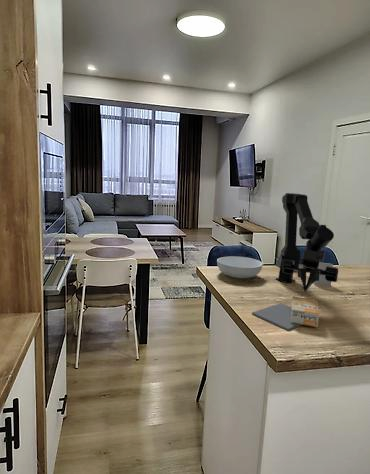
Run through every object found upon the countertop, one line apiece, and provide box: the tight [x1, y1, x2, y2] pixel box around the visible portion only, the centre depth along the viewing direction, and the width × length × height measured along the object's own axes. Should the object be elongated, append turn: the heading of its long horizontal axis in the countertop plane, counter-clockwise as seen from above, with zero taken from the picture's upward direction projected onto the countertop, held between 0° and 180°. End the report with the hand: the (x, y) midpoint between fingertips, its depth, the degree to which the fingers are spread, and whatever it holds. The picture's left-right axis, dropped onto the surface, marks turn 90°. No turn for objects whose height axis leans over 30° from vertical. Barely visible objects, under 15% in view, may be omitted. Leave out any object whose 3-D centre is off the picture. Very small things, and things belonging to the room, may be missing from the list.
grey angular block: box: [313, 261, 334, 288], centre depth 147 cm, size 4×7×10 cm, turn 76°
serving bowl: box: [216, 256, 264, 279], centre depth 154 cm, size 21×21×7 cm
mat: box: [251, 303, 302, 331], centre depth 110 cm, size 16×14×1 cm
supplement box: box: [290, 295, 320, 328], centre depth 109 cm, size 8×5×13 cm
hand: (304, 291), depth 114 cm, fingers closed
